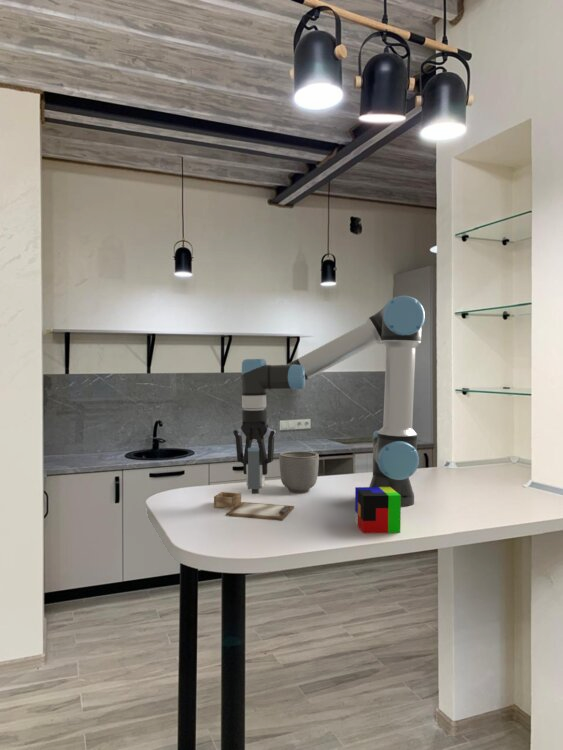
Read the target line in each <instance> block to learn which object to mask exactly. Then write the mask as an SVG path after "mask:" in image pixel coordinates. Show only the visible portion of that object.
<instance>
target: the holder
mask: <svg viewBox="0 0 563 750" xmlns="http://www.w3.org/2000/svg"><path fill="white" fill-rule="evenodd" d="M241 502H242V493H241V492H229V491H228V492H227V491H221V492H219V493H218V494H216V495H214V496H213V508H214V507H215V508H214V509H225V508H227V510H228V509H229V510H232V509H233V508H235V507H236V506H237V505H239V504H240V503H241Z"/></svg>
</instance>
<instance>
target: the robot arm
mask: <svg viewBox="0 0 563 750" xmlns="http://www.w3.org/2000/svg"><path fill="white" fill-rule="evenodd" d="M425 315H426V313H425V309H424V307H423V305H422V303H421V302H420V301H419V300H418V299H416V298H415V297H413V296H409V295H398V296H395V297H392V298H391V299H390V300H389V301H387V302H386V304H385V305H384V306H383V307H382V308H381V309H380V310H379V311H377V312H376V313H375V314H372V315H371V316H369V317H367V319H366V321H365V322H364V323H363V324H360V325H359V326H357V327H354V329H351V330H349V331H347V332H345V333H344V334H342V335H340V336H338V337H336V338H334V339H333V340H332V339H331V341H329V342H327V343H325V344H323V345H321V346H319V347H317V348H316V349H313V350H312V351H310V352H308V353H306V354H304V355H302V356H301V357H299V358H297V359H295V360H293V361H290V362H289V363H286V364H275V365H274V364H273V365H272V364H267V362H266V361H267V360H266V359H265V358H250V359H249V358H246V359H243V360H242V361H241V373H240V375H241V408H242V409H243V410H242V411H241V412H242V413H241V416H242V417H241V419H242V424H241V426H240V428H238V429H234V430H233V433H232V434H233V435H234V437H235V449H236V460H237V462H238V463H241V464H242V465H243V467H242V468H243V474H244V475H246V476H245V477H246V486H247V487H248V448H250V447H252V445H253V440H256V442H257V444H258V445H257V447H259V451H260V457H261V462H262V463H261V464H260V465H259V469H260V486H262V487H264V485H265V483H266V482H265V480H266V479H265V476H266V475H268V464H269V463H272V462H273V461H274V456H275V454H274V452H275V450H274V449H275V437H276V434H277V430H276V429H272V428H269V425H268V420H267V419H268V416H267V415H268V413H267V410H266V408H267V390H269V391H271V390H293V391H294V390H303V389H304V388H305V387H306V381H307V380H309V379H311V378H313V377H314V376H317V375H319V374H320V373H322V372H325V371H326V370H329V369H330V368H332V367H334V366H336V365H338V364H340V363H341V362H344V361H346V360H347V359H349V358H351V357H353V356H355V355H357V354H359V353H361V352H363V351H365V350H367V349H369V348H370V347H373V346H374V345H377V344H378V345H384V346H385V367H384V368H385V371H384V374H385V375H384V394H383V395H384V396H383V397H384V400H383V402H384V403H383V419H382V420H383V423H382V427H381V428H380V429H379V430H375V431H374V432H373V435H372V436H373V437H372V439H371V440H372V476H371V477H372V478H371V481H370V482H369V486H368V487H391V488H392V489H393V490H395V491H396V492H397V493H398V494H400V495H401V507H406V506H410V505H413V504H414V503H415V493H414V491H413V486H412V483H411V480H410V477H411V476H413V475H414V474H415V473H416V471H417V470H418V468H419V462H420V457H419V452H418V450H417V448H418V433H417V432H416V431H415V429H413V424H414V423H413V420H414V418H413V417H414V416H413V415H414V413H413V412H414V394H415V391H414V390H415V374H416V373H415V369H416V368H415V367H416V348H417V347H418V346H419V345H420V344H421V343H422V330H423V329H422V327H423V326H424V323H425V320H426V318H425V317H426V316H425ZM243 434H244V436H245V445H243V436H242V435H243ZM266 434H267V436H268V439H267V451H266V446H265V437H264V436H265V435H266ZM243 446H244V448H243Z"/></svg>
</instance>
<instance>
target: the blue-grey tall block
mask: <svg viewBox="0 0 563 750" xmlns="http://www.w3.org/2000/svg"><path fill="white" fill-rule="evenodd" d="M261 463H262V462H261V457H260V451H259V446H251V447H250V448H248V486H247V490H251V494H254V495H257V494H260V489H262V488H263V486H260V469H259V465H260V464H261Z"/></svg>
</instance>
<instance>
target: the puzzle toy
mask: <svg viewBox="0 0 563 750" xmlns="http://www.w3.org/2000/svg"><path fill="white" fill-rule="evenodd" d="M354 496H355V497H354V499H355V500H354V523H355V524H356V526H357V527H358V528H359V529H360V531H361V532H362V533H363V534H391V533H392V534H393V533H394V534H396V533H399V534H401V523H402V522H401V515H402V514H401V513H402V512H401V509H402V506H401V495H400V494H398V493H397V492H396V491H395V490H393V489H392V488H391V487H369V486H367V487H366V486H365V487H364V486H362V487H361V486H359V487H355V494H354Z"/></svg>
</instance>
